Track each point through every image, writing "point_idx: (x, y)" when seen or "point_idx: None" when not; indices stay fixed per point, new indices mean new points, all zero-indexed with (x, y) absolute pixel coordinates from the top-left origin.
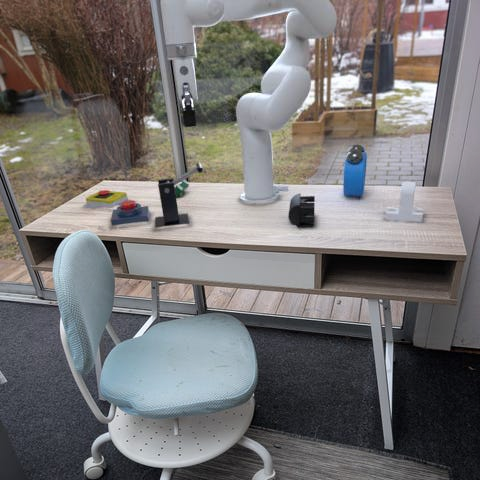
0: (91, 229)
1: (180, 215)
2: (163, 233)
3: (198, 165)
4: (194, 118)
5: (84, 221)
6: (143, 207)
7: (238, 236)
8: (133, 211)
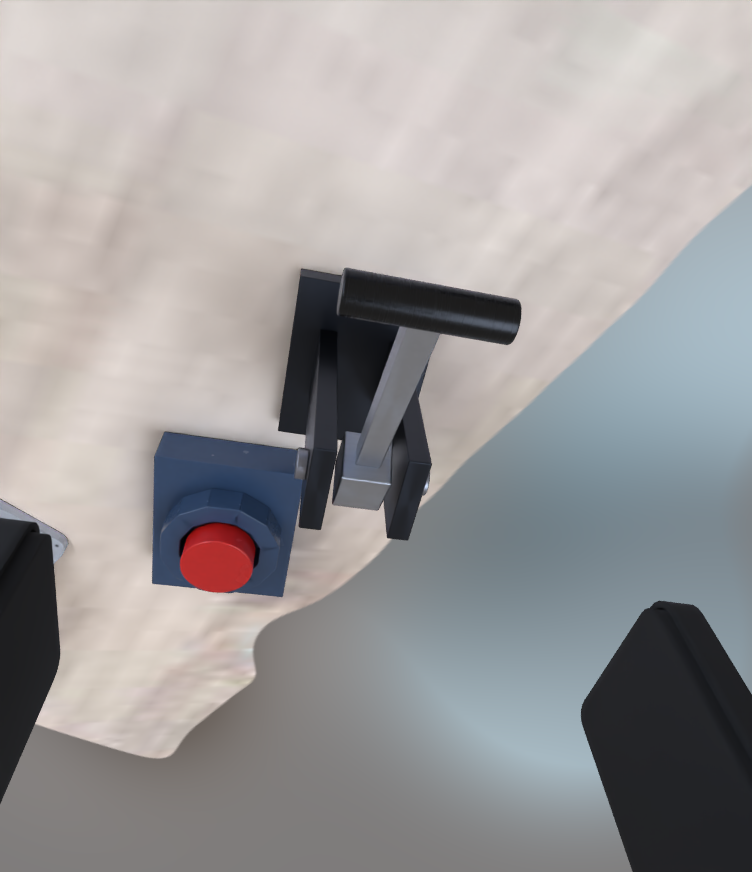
0: (256, 624)
1: (315, 319)
2: (452, 415)
3: (449, 325)
4: (743, 716)
5: (154, 640)
6: (173, 477)
7: (743, 87)
8: (277, 536)
